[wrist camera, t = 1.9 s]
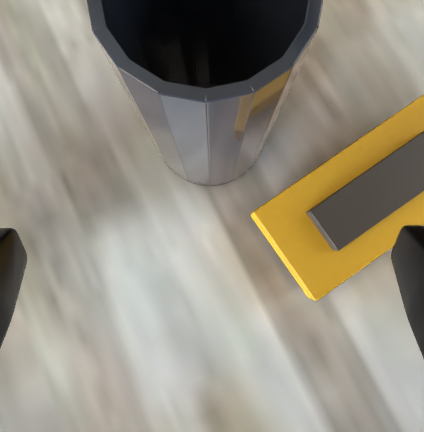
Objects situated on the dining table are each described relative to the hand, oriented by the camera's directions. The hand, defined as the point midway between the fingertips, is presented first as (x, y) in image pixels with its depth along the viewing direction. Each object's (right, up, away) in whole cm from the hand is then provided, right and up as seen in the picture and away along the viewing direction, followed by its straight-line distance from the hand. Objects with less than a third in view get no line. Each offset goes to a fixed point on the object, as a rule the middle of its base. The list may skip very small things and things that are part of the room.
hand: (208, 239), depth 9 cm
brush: (+9, +2, +13) cm, 16 cm away
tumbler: (0, +6, +14) cm, 15 cm away
